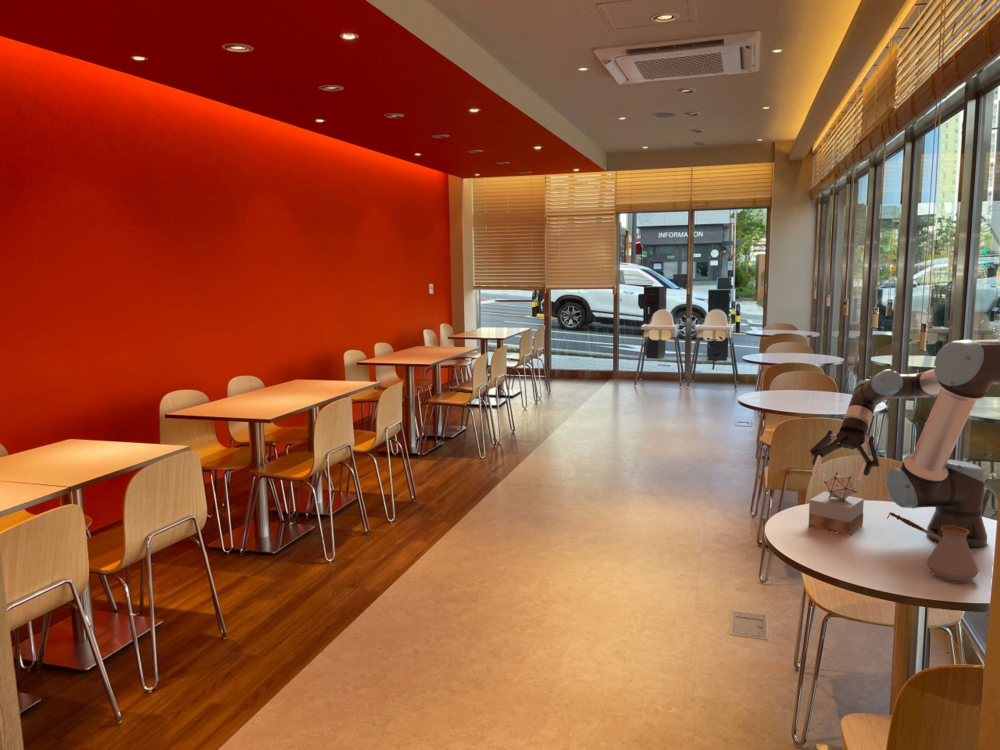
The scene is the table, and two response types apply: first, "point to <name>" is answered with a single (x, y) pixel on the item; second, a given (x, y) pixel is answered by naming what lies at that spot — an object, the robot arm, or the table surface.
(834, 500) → the tower top slab
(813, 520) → the tower bottom slab
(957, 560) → the coffee pot
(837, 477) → the game die
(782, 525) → the table surface
